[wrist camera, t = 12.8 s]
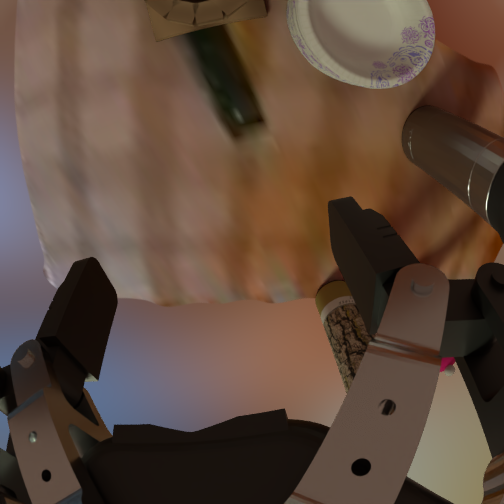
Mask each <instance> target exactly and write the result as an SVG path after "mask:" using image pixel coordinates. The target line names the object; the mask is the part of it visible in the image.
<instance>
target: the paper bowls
mask: <svg viewBox="0 0 504 504" xmlns="http://www.w3.org/2000/svg"><path fill="white" fill-rule="evenodd" d="M287 23H288V28H289V30H290V33H291V35H292V38H293V40H294V42H295V44H296V45H297V47H298V49H299V50H300V52H301V53H302V55H303V56H304V57H305V58H306V59H307V60H308V61H309V63H310V64H311V65H313V66H314V67H315V68H317V69H318V70H320V71H321V72H323V73H324V74H326V75H328V76H330V77H332V78H334V79H337V80H339V81H342V82H346V83H349V84H352V85H357V86H362V87H366V88H371V89H372V88H373V89H384V88H392V87H396V86H399V85H402V84H404V83H406V82H408V81H410V80H412V79H413V78H414V77H415V76H417V75H418V74H419V73H420V72H421V71H422V70H423V68H424V67H425V66H426V64H427V62H428V61H429V59H430V56H431V54H432V51H433V47H434V41H435V25H434V19H433V15H432V12H431V9H430V7H429V4H428V2H427V0H288V4H287Z"/></svg>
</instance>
